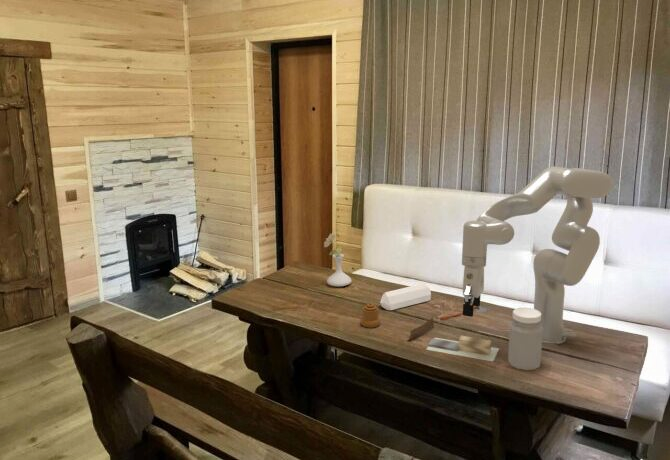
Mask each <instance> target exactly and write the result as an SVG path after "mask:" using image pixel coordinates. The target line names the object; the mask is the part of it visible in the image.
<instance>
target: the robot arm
mask: <svg viewBox="0 0 670 460" xmlns="http://www.w3.org/2000/svg"><path fill="white" fill-rule="evenodd" d="M612 187H613V180H612V178H611V176H610V175H609V174H608V173H606V172H604V171H599V170H593V169H588V168H583V167H582V168H581V167H572V168H570V167H569V168H568V167H561V166H555V165H554V166H552V165H551V166H548V167H546V168H545V169H543V170H542V171H541V172H540V173H539V174H538V175H537V176H536V177H534V178H533V179H532V180H531V181H530V182H529V183H527V185H526V186H524V187H523V188H522V189H521V190H520V191H518V192H517V193H515V194H513V195H510V196H506V198H503V199H501V200H499V201H497V202H495V203H493V204H491V205H490V206H489V207H488V208H487V209H485V211H483V212H482V213H481V214H480V215H479V216H478V217H477V218H476V220H469V221H466V222H465V223H464V224H463V230H462V250H461V251H462V253H461V265H462V266H464V270H463V280H462V296H463V300H462V301H463V302H462V303H463V304H462V311H463V314H462V316H464V317H470V318H473V316H474V310H475V309H474V306H478V307H479V306H480V304H481V295H482V293H483V292H484V291H485V290H484V289H485V267H486V266H487V252H488V245H498V246H500V245H501V246H502V245H507V244H509V243H511V241H512V240H513V239H514V236H515V230H514V228H513V225H511V224H510V223H509V222H507V220H509V219H511V218H516V217H518V216H526V215H531V214H535V213H538V212H539V211H540V210H541V209H542V208H543V207H544V206H546V205H547V204H548V203H549V202H550V201H551V200H552V199H553V198H555V196H557V195H561V196H562V195H563V196H566V197H567V198H566V205H565V208H564V210H563V212H562V214H561V217H560V218H559V220H558V222H557V223H556V225H555V228H554V230H553V232H552V234H551V241H552V243H553V244H554V245H555V246H556V247H558V248H559V249H562V250H565V251H568V254H567V253H564V252H561V251H560V250H555V249H553V248H552V249H551V248H544V249H541V250H539V251H538V252H537V253H536V254H535V256H534V258H533V263H532V264H533V265H532V267H533V273H534V282H535V283H534V300H533V309H535V310H538V311H539V312H540V313H541V320H540V321H541V324H540V325H541V326H542V327H543V334H542V343H546V344H547V343H548V344H556V345H562V344H563V343H565V342H566V340H567V338H571V339H576V336H577V333H576V332H573V329H566V328H564V326H565V325H564V324H563V320H564V304H565V294H566V289H565V286H569V287H573V286H576V285H577V284H579V283H580V282H581V281H582V280H583V278H584V277H585V275H586V273H587V271H588V270H589V268H590V266H591V264H592V262H593V260H594V258H595V256H596V254H597V252H598V250H599V247H600V243H601V238H600V234H599V232H598V231H597V230H596V229H595V228H593V227H591V226H588V224H589V222H590V219H591V218H592V216H593V211H594V205H593V200H592V199H601V198H604V197H605V196H607V195H608V194H609V193H610V192H611V190H612Z"/></svg>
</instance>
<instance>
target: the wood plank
mask: <svg viewBox="0 0 670 460" xmlns="http://www.w3.org/2000/svg"><path fill="white" fill-rule="evenodd" d="M434 326H435V324H434V318H433V317H431V318H430V319H429V320H428V321H427V322H425V323H423V324H422V325H421V326H418V327H415V328H413V329H412V330H410V331H409V335H410V336H409V338H408V339H407V341H411V340H413V339H416V338H419V337H421V336H422V335H424V334H426V333H427V332H429V331H430V330H432V329H434Z"/></svg>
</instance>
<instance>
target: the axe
mask: <svg viewBox="0 0 670 460" xmlns="http://www.w3.org/2000/svg"><path fill="white" fill-rule="evenodd" d="M475 309H476V310H475ZM474 310H475V311H474ZM490 311H491V309H490V308H485V307H483V306H482V304H481V303H480V306H479V307H478V306H474V309H473V313H482V314H483V313H488V312H490ZM461 315H462V316H463V310H462V311H460V312H458V313H453V314H449V315H448V314H447V315H444V316H441V317H439V320H440V321H445V320H448V319H451V318H455V317H458V316H461Z"/></svg>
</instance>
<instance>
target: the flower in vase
mask: <svg viewBox="0 0 670 460" xmlns="http://www.w3.org/2000/svg"><path fill="white" fill-rule="evenodd" d="M335 238H336V233H335V232H333V231H332V233H329V235H328V237H326V238H325V241H324V243H323V248H327V247H329V246H330V245H331V244H332V246H333V248H334V249H333V250H331V251H330V252H329V255H328V256H332V257H333V259H334V261H335V266H336V269H335V272H334V273H332V274H331V275H329V277H328V278H327V279H326V283H327V284H328V285H330V286H332V287H344V286H347V285H350V284H351V283H352V278H351V277H350V276H349V275H348V274H346V273H345V271H344V272H343V270H342V262H343V261H342V260H343V258H344V257H345V255H344V254H343V253H341V252H342V246H338V247H337V248H336V246H335V244H334V242H333V241H334V239H335Z"/></svg>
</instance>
